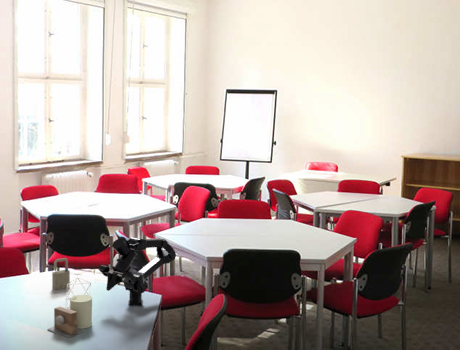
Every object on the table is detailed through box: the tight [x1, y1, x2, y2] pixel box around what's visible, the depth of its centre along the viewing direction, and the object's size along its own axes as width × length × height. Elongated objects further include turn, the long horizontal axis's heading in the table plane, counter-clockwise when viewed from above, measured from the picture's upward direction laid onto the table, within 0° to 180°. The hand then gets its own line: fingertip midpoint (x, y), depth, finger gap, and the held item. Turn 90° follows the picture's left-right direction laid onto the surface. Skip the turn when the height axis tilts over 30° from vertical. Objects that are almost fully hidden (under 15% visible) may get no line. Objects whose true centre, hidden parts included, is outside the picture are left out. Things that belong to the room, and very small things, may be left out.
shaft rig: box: [47, 306, 83, 339], centre depth 238 cm, size 8×13×9 cm, turn 57°
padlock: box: [51, 257, 71, 290], centre depth 292 cm, size 4×8×15 cm, turn 133°
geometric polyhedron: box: [66, 277, 92, 301], centre depth 276 cm, size 12×11×9 cm
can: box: [69, 294, 93, 330], centre depth 246 cm, size 9×9×12 cm
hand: (107, 290), depth 257 cm, fingers closed
